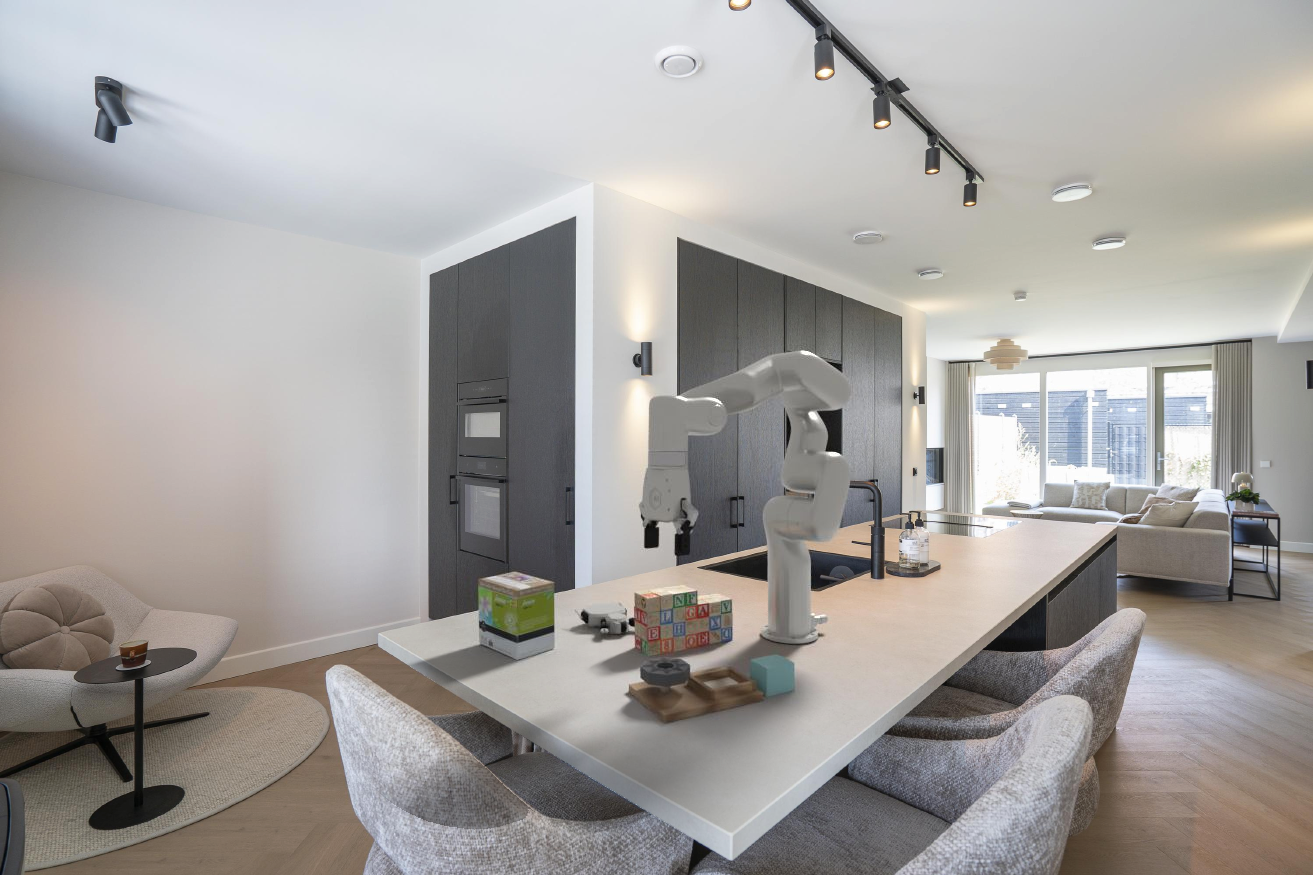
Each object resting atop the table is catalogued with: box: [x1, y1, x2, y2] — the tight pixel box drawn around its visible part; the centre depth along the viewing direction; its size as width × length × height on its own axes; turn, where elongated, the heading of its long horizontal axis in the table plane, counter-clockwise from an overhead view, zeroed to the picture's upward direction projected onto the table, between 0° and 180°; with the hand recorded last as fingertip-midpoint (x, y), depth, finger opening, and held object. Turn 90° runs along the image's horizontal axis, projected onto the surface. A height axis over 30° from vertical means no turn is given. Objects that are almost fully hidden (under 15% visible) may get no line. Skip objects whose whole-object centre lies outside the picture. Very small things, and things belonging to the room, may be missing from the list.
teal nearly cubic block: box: [749, 653, 796, 697], centre depth 114 cm, size 6×5×5 cm
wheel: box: [639, 656, 691, 687], centre depth 110 cm, size 8×8×2 cm
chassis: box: [628, 666, 764, 724], centre depth 111 cm, size 19×14×4 cm
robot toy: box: [574, 601, 635, 635], centre depth 150 cm, size 12×4×15 cm
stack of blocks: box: [633, 584, 734, 657], centre depth 138 cm, size 21×6×12 cm, turn 118°
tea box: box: [477, 571, 556, 661], centre depth 137 cm, size 15×10×15 cm, turn 47°
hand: (666, 551), depth 120 cm, fingers open, 9 cm apart
